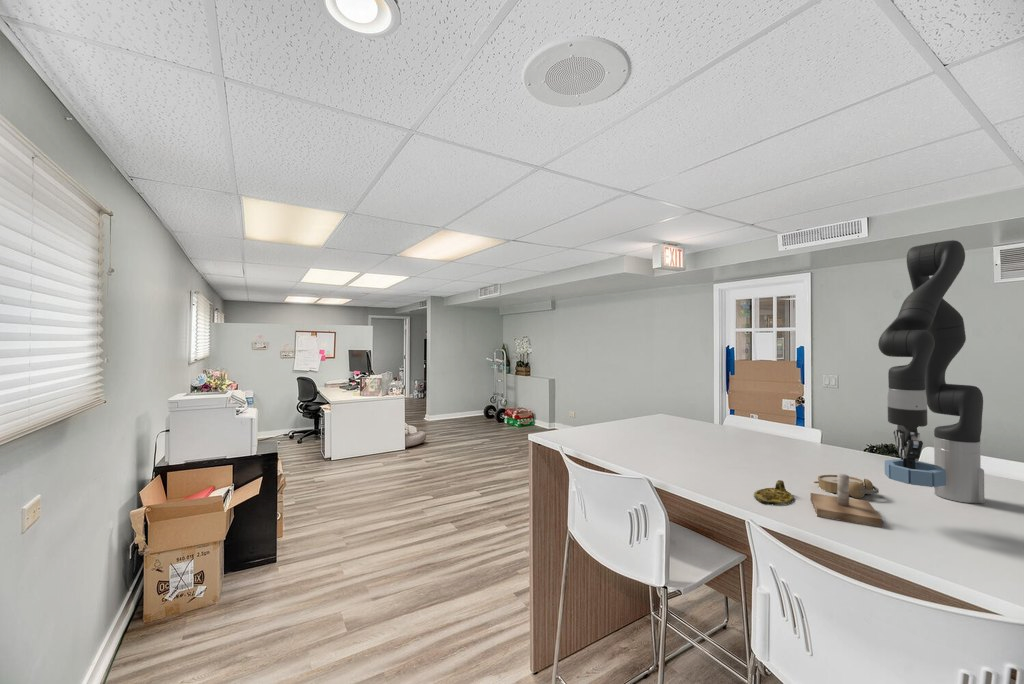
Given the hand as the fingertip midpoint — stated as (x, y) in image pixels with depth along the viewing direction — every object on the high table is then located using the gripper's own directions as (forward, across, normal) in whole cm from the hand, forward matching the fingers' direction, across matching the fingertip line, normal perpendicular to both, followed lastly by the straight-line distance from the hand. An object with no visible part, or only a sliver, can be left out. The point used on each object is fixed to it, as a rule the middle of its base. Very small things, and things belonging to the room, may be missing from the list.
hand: (907, 471), depth 108 cm
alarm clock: (+12, +15, +10) cm, 22 cm away
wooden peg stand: (+12, -5, +14) cm, 19 cm away
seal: (+12, -2, +30) cm, 32 cm away
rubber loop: (+1, -5, 0) cm, 5 cm away
